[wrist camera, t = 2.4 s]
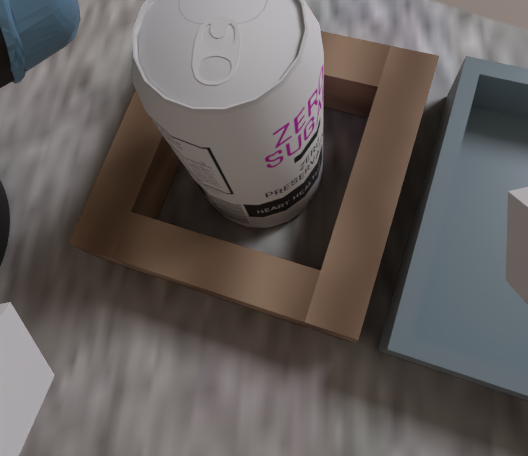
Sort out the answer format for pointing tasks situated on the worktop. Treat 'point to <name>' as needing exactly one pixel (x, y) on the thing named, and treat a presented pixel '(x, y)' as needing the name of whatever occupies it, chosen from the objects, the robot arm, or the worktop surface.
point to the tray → (467, 239)
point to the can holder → (251, 261)
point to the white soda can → (237, 99)
